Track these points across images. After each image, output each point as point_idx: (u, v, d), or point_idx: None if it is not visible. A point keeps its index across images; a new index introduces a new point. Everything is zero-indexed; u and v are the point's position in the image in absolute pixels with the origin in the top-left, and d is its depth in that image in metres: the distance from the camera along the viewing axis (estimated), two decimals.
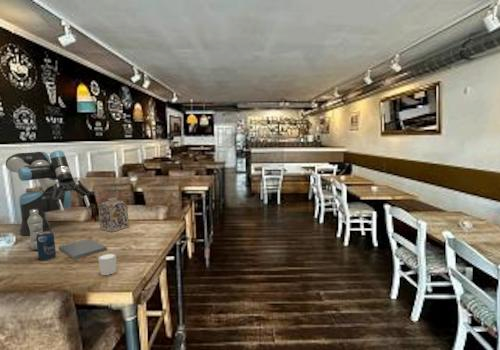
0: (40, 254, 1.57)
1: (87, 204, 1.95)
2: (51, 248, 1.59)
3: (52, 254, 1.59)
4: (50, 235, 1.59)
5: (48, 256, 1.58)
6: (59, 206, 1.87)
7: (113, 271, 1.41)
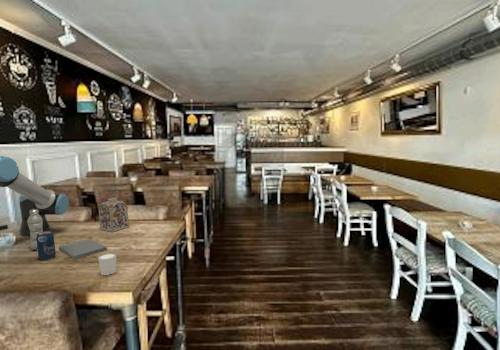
0: (40, 254, 1.57)
1: None
2: (51, 248, 1.59)
3: (52, 254, 1.59)
4: (50, 235, 1.59)
5: (48, 256, 1.58)
6: None
7: (113, 271, 1.41)
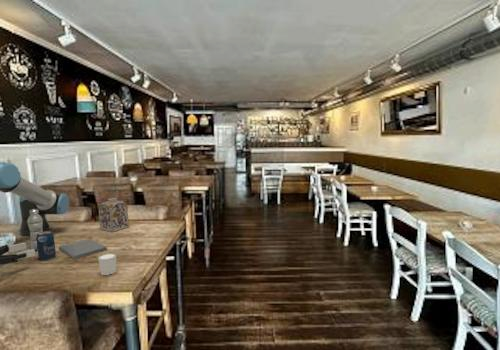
0: (40, 254, 1.57)
1: None
2: (51, 248, 1.59)
3: (52, 254, 1.59)
4: (50, 235, 1.59)
5: (48, 256, 1.58)
6: None
7: (113, 271, 1.41)
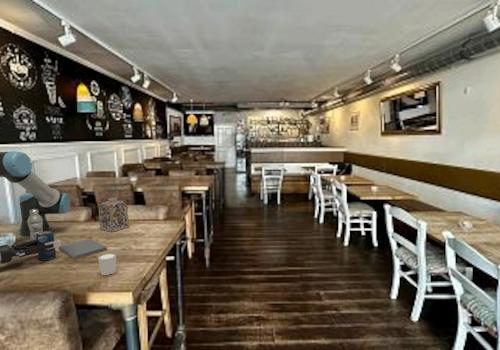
0: (40, 254, 1.57)
1: None
2: (51, 248, 1.59)
3: (52, 254, 1.59)
4: (50, 235, 1.59)
5: (48, 256, 1.58)
6: None
7: (113, 271, 1.41)
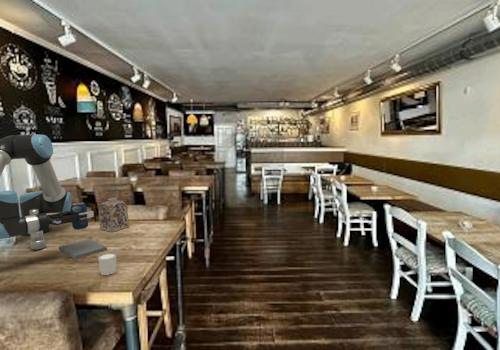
0: (74, 224, 1.64)
1: None
2: None
3: (85, 224, 1.66)
4: (83, 206, 1.65)
5: (82, 226, 1.65)
6: None
7: (113, 271, 1.41)
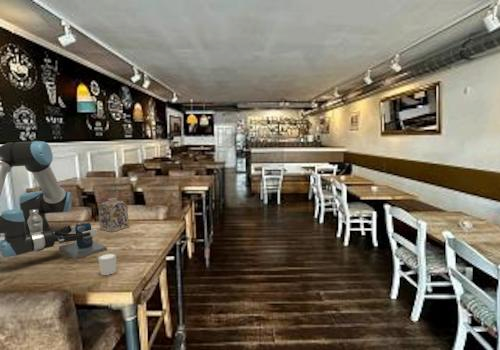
0: (79, 243, 1.66)
1: None
2: (89, 237, 1.68)
3: (90, 243, 1.68)
4: (88, 225, 1.68)
5: (86, 245, 1.67)
6: None
7: (113, 271, 1.41)
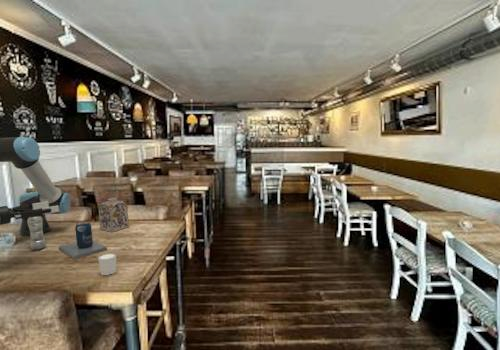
0: (79, 243, 1.66)
1: None
2: (89, 237, 1.68)
3: (90, 243, 1.68)
4: (88, 225, 1.68)
5: (86, 245, 1.67)
6: None
7: (113, 271, 1.41)
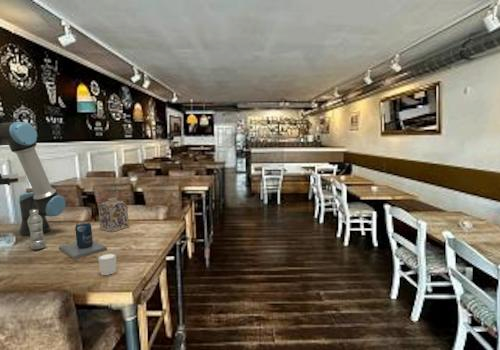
0: (79, 243, 1.66)
1: None
2: (89, 237, 1.68)
3: (90, 243, 1.68)
4: (88, 225, 1.68)
5: (86, 245, 1.67)
6: None
7: (113, 271, 1.41)
